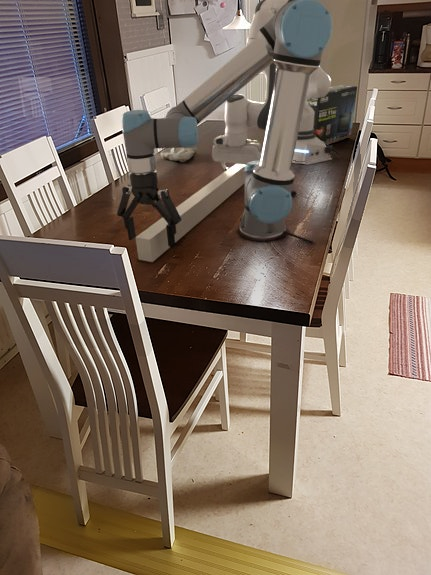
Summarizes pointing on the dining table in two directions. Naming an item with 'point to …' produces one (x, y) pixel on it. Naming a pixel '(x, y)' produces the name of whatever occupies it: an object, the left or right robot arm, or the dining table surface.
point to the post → (190, 213)
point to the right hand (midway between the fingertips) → (236, 173)
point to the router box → (334, 112)
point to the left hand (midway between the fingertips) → (151, 241)
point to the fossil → (179, 153)
